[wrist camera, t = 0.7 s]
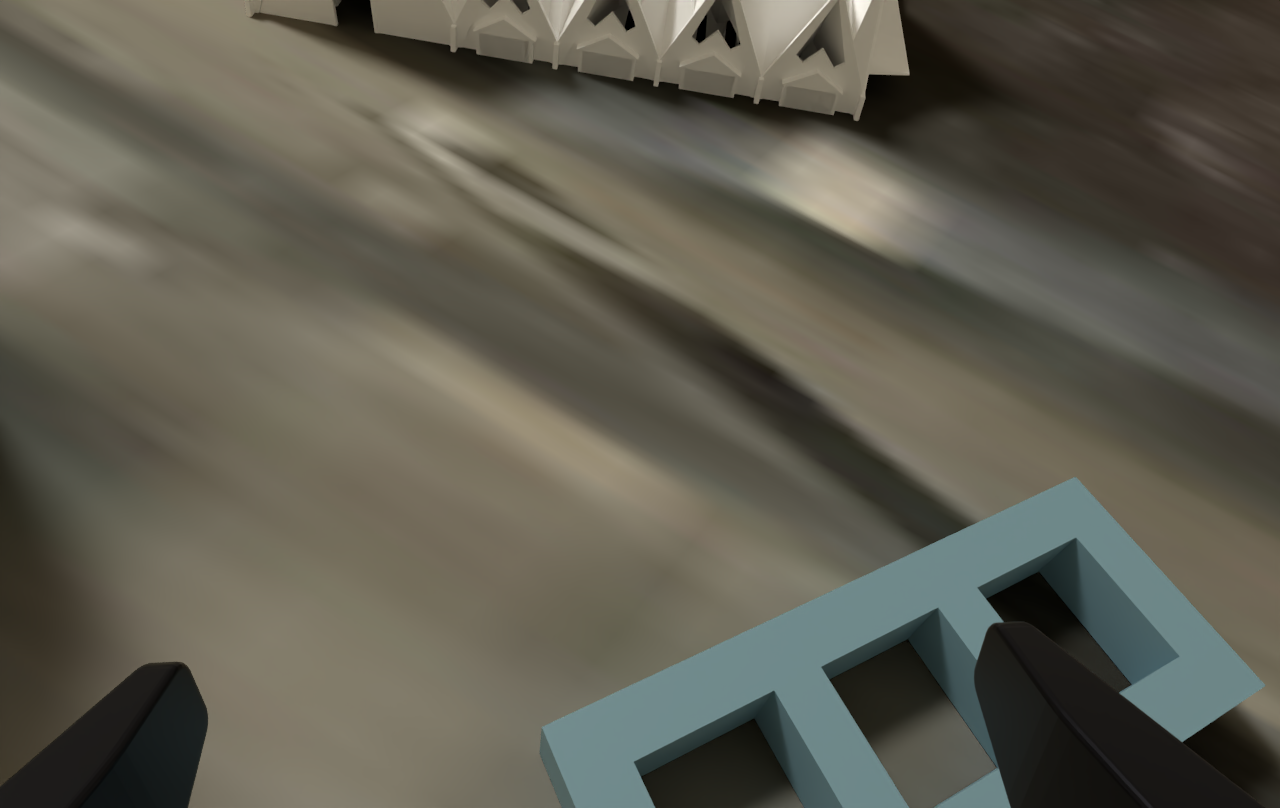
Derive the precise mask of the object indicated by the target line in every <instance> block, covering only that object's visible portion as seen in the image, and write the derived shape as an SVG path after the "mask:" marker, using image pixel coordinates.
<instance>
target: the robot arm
mask: <svg viewBox="0 0 1280 808" xmlns="http://www.w3.org/2000/svg"><path fill="white" fill-rule="evenodd" d="M974 686H975V691H976V694H977V698H978V701H979V704H980V708H981V711H982V714H983V718H984V721H985V724H986V728H987V731H988V734H989V738H990V741H991V744H992V748H993V751H994V754H995V758H996V761H997V764H998V768H999V771H1000V774H1001V778H1002V781H1003V784H1004V788H1005V791H1006V794H1007V798H1008V801H1009V804H1010V807H1011V808H1265V807H1264V806H1263V805H1262V804H1260V803H1259V802H1258V801H1257V800H1255V799H1254V798H1253V797H1251V796H1250V795H1249V794H1248V793H1246V792H1245V791H1244V790H1243V789H1241V788H1240V787H1239V786H1237V785H1236V784H1235V783H1234V782H1232V781H1231V780H1230V779H1228V778H1227V777H1226V776H1225V775H1223V774H1222V773H1221V772H1220V771H1218V770H1217V769H1216V768H1214V767H1213V766H1212V765H1211V764H1209V763H1208V762H1207V761H1205V760H1204V759H1203V758H1202V757H1200V756H1199V755H1198V754H1197V753H1195V752H1194V751H1193V750H1191V749H1190V748H1189V747H1188V746H1186V745H1185V744H1184V743H1183V742H1181V741H1180V740H1179V739H1177V738H1176V737H1175V736H1174V735H1172V734H1171V733H1170V732H1168V731H1167V730H1166V729H1165V728H1163V727H1162V726H1161V725H1160V724H1158V723H1157V722H1156V721H1154V720H1153V719H1152V718H1151V717H1149V716H1148V715H1147V714H1145V713H1144V712H1143V711H1142V710H1140V709H1139V708H1138V707H1137V706H1135V705H1134V704H1133V703H1131V702H1130V701H1129V700H1128V699H1126V698H1125V697H1124V696H1122V695H1121V694H1120V693H1119V692H1117V691H1116V690H1115V689H1114V688H1112V687H1111V686H1110V685H1108V684H1107V683H1106V682H1105V681H1103V680H1102V679H1101V678H1100V677H1098V676H1097V675H1096V674H1094V673H1093V672H1092V671H1091V670H1089V669H1088V668H1087V667H1085V666H1084V665H1083V664H1082V663H1080V662H1079V661H1078V660H1077V659H1075V658H1074V657H1073V656H1071V655H1070V654H1069V653H1068V652H1066V651H1065V650H1064V649H1062V648H1061V647H1060V646H1059V645H1057V644H1056V643H1055V642H1054V641H1052V640H1051V639H1050V638H1048V637H1047V636H1046V635H1045V634H1043V633H1042V632H1041V631H1040V630H1038V629H1037V628H1036V627H1034V626H1033V625H1031V624H1029V623H1027V622H1020V621H1019V622H998V623H993V624H992V625H991V626H990V627H989V628H988V629H987V632H986V634H985V637H984V641H983V644H982V647H981V650H980V653H979V656H978V659H977V662H976V665H975V669H974ZM207 727H208V713H207V708H206V705H205V703H204V701H203V699H202V696H201V694H200V692H199V689H198V687H197V685H196V683H195V680H194V678H193V676H192V673H191V671H190V669H189V668H188V666H187V665H185V664H184V663H182V662H162V663H149V664H146V665H143V666H141V667H140V668H138V669H137V670H135V671H134V672H133V673H132V674H131V675H130V676H128V677H127V678H126V679H125V680H124V681H123V682H121V683H120V684H119V685H118V686H117V687H116V688H114V689H113V690H112V691H111V692H110V693H109V694H107V695H106V696H105V697H104V698H103V699H102V700H100V701H99V702H98V703H97V704H96V705H95V706H93V707H92V708H91V709H90V710H89V711H88V712H87V713H85V714H84V715H83V716H82V717H81V718H80V719H78V720H77V721H76V722H75V723H74V724H73V725H71V726H70V727H69V728H68V729H67V730H66V731H64V732H63V733H62V734H61V735H60V736H59V737H57V738H56V739H55V740H54V741H53V742H52V743H50V744H49V745H48V746H47V747H46V748H45V749H43V750H42V751H41V752H40V753H39V754H38V755H37V756H35V757H34V758H33V759H32V760H31V761H30V762H28V763H27V764H26V765H25V766H24V767H23V768H21V769H20V770H19V771H18V772H17V773H16V774H14V775H13V776H12V777H11V778H10V779H9V780H7V781H6V782H5V783H4V784H3V785H2V786H0V808H188V805H189V801H190V797H191V793H192V789H193V785H194V781H195V777H196V773H197V769H198V765H199V761H200V757H201V753H202V749H203V745H204V741H205V736H206V732H207Z"/></svg>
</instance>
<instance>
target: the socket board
mask: <svg viewBox="0 0 1280 808" xmlns="http://www.w3.org/2000/svg"><path fill="white" fill-rule="evenodd" d="M1037 572H1040V574H1041V575H1042V576H1043V577H1044V578H1045V580H1046V581H1047V582H1048V583H1049V584H1050V586H1051V587H1052V588H1053V589H1054V591H1055V592H1056V593H1057V594H1058V595H1059V597H1060V598H1061V599H1062V600H1063V601H1064V603H1065V604H1066V605H1067V606H1068V608H1069V609H1070V610H1071V611H1072V612H1073V614H1074V615H1075V616H1076V617H1077V618H1078V620H1079V621H1080V622H1081V623H1082V625H1083V626H1084V627H1085V628H1086V629H1087V631H1088V632H1089V633H1090V634H1091V636H1092V637H1093V638H1094V639H1095V640H1096V642H1097V643H1098V644H1099V645H1100V646H1101V648H1102V649H1103V650H1104V651H1105V653H1106V654H1107V655H1108V656H1109V657H1110V659H1111V660H1112V661H1113V662H1114V663H1115V665H1116V666H1117V667H1118V668H1119V670H1120V671H1121V672H1122V673H1123V674H1124V676H1125V677H1126V678H1127V679H1128V681H1129V682H1130V683H1131V684H1132V685H1131V686H1129V687H1127V688H1126V689H1124V690H1123V691H1121V692H1119V693H1120V694H1121V695H1122V696H1124V697H1125V698H1126V699H1128V700H1129V701H1130V702H1131V703H1133V704H1134V705H1135V706H1137V707H1138V708H1139V709H1140V710H1142V711H1143V712H1144V713H1145V714H1147V715H1148V716H1149V717H1151V718H1152V719H1153V720H1154V721H1156V722H1157V723H1158V724H1160V725H1161V726H1162V727H1163V728H1165V729H1166V730H1167V731H1168V732H1170V733H1171V734H1172V735H1174V736H1175V737H1176V738H1177V739H1179V740H1180V741H1181V742H1183V741H1185V740H1186V739H1187V738H1189V737H1190V736H1192V735H1193V734H1195V733H1196V732H1198V731H1199V730H1201V729H1202V728H1204V727H1205V726H1207V725H1208V724H1210V723H1211V722H1213V721H1214V720H1216V719H1217V718H1219V717H1220V716H1221V715H1223V714H1224V713H1226V712H1227V711H1229V710H1230V709H1232V708H1233V707H1235V706H1236V705H1238V704H1239V703H1241V702H1242V701H1244V700H1245V699H1247V698H1248V697H1250V696H1251V695H1253V694H1254V693H1255V692H1257V691H1258V690H1260V689H1261V688H1263V687H1264V686H1266V685H1265V684H1264V683H1263V682H1262V681H1261V680H1260V679H1259V678H1258V677H1257V676H1256V674H1255V673H1254V672H1253V671H1252V670H1251V669H1250V668H1249V667H1248V666H1247V665H1246V664H1245V662H1244V661H1243V660H1242V659H1241V658H1240V657H1239V656H1238V655H1237V654H1236V653H1235V651H1234V650H1233V649H1232V648H1231V647H1230V646H1229V645H1228V644H1227V643H1226V642H1225V640H1224V639H1223V638H1222V637H1221V636H1220V635H1219V634H1218V633H1217V632H1216V631H1215V629H1214V628H1213V627H1212V626H1211V625H1210V624H1209V623H1208V622H1207V621H1206V620H1205V618H1204V617H1203V616H1202V615H1201V614H1200V613H1199V612H1198V611H1197V610H1196V609H1195V607H1194V606H1193V605H1192V604H1191V603H1190V602H1189V601H1188V600H1187V599H1186V598H1185V597H1184V595H1183V594H1182V593H1181V592H1180V591H1179V590H1178V589H1177V588H1176V587H1175V586H1174V584H1173V583H1172V582H1171V581H1170V580H1169V579H1168V578H1167V577H1166V576H1165V575H1164V573H1163V572H1162V571H1161V570H1160V569H1159V568H1158V567H1157V566H1156V565H1155V564H1154V562H1153V561H1152V560H1151V559H1150V558H1149V557H1148V556H1147V555H1146V554H1145V553H1144V551H1143V550H1142V549H1141V548H1140V547H1139V546H1138V545H1137V544H1136V543H1135V542H1134V540H1133V539H1132V538H1131V537H1130V536H1129V535H1128V534H1127V533H1126V532H1125V531H1124V530H1123V528H1122V527H1121V526H1120V525H1119V524H1118V523H1117V522H1116V521H1115V520H1114V519H1113V517H1112V516H1111V515H1110V514H1109V513H1108V512H1107V511H1106V510H1105V509H1104V508H1103V506H1102V505H1101V504H1100V503H1099V502H1098V501H1097V500H1096V499H1095V498H1094V497H1093V495H1092V494H1091V493H1090V492H1089V491H1088V490H1087V489H1086V488H1085V487H1084V486H1083V484H1082V483H1081V482H1080V481H1079V480H1078V479H1077V478H1076V477H1074V478H1072V479H1070V480H1067V481H1065V482H1063V483H1061V484H1059V485H1057V486H1055V487H1052V488H1050V489H1048V490H1046V491H1044V492H1042V493H1040V494H1038V495H1035V496H1033V497H1031V498H1029V499H1027V500H1025V501H1023V502H1021V503H1018V504H1016V505H1014V506H1012V507H1010V508H1008V509H1006V510H1003V511H1001V512H999V513H997V514H995V515H993V516H991V517H989V518H986V519H984V520H982V521H980V522H978V523H976V524H974V525H972V526H969V527H967V528H965V529H963V530H961V531H959V532H957V533H954V534H952V535H950V536H948V537H946V538H944V539H942V540H940V541H937V542H935V543H933V544H931V545H929V546H927V547H925V548H922V549H920V550H918V551H916V552H914V553H912V554H910V555H908V556H905V557H903V558H901V559H899V560H897V561H895V562H893V563H891V564H888V565H886V566H884V567H882V568H880V569H878V570H876V571H873V572H871V573H869V574H867V575H865V576H863V577H861V578H859V579H856V580H854V581H852V582H850V583H848V584H846V585H844V586H842V587H839V588H837V589H835V590H833V591H831V592H829V593H827V594H824V595H822V596H820V597H818V598H816V599H814V600H812V601H810V602H807V603H805V604H803V605H801V606H799V607H797V608H795V609H792V610H790V611H788V612H786V613H784V614H782V615H780V616H778V617H775V618H773V619H771V620H769V621H767V622H765V623H763V624H761V625H758V626H756V627H754V628H752V629H750V630H748V631H746V632H743V633H741V634H739V635H737V636H735V637H733V638H731V639H729V640H726V641H724V642H722V643H720V644H718V645H716V646H714V647H711V648H709V649H707V650H705V651H703V652H701V653H699V654H697V655H694V656H692V657H690V658H688V659H686V660H684V661H682V662H680V663H677V664H675V665H673V666H671V667H669V668H667V669H665V670H662V671H660V672H658V673H656V674H654V675H652V676H650V677H648V678H645V679H643V680H641V681H639V682H637V683H635V684H633V685H631V686H628V687H626V688H624V689H622V690H620V691H618V692H616V693H613V694H611V695H609V696H607V697H605V698H603V699H601V700H599V701H596V702H594V703H592V704H590V705H588V706H586V707H584V708H581V709H579V710H577V711H575V712H573V713H571V714H569V715H567V716H564V717H562V718H560V719H558V720H556V721H554V722H552V723H550V724H547V725H545V726H543V727H542V731H541V744H540V755H541V758H542V760H543V763H544V765H545V768H546V770H547V772H548V775H549V777H550V780H551V782H552V785H553V787H554V789H555V792H556V794H557V797H558V799H559V802H560V804H561V806H562V808H655V806H654V804H653V802H652V800H651V798H650V796H649V793H648V791H647V789H646V787H645V785H644V783H643V781H642V779H641V776H643V775H645V774H647V773H649V772H651V771H653V770H655V769H657V768H659V767H661V766H663V765H665V764H667V763H669V762H670V761H672V760H674V759H676V758H678V757H680V756H682V755H684V754H686V753H688V752H690V751H692V750H694V749H696V748H698V747H700V746H702V745H703V744H705V743H707V742H709V741H711V740H713V739H715V738H717V737H719V736H721V735H723V734H725V733H727V732H729V731H731V730H733V729H734V728H736V727H738V726H740V725H742V724H744V723H746V722H748V721H750V720H752V719H755V721H756V722H757V724H758V726H759V728H760V729H761V731H762V733H763V735H764V737H765V738H766V740H767V742H768V744H769V746H770V747H771V749H772V751H773V753H774V754H775V756H776V758H777V760H778V762H779V763H780V765H781V767H782V769H783V771H784V772H785V774H786V776H787V778H788V779H789V781H790V783H791V785H792V787H793V788H794V790H795V792H796V794H797V796H798V797H799V799H800V801H801V803H802V804H803V806H804V808H909V807H908V805H907V804H906V802H905V801H904V799H903V797H902V796H901V794H900V793H899V791H898V789H897V788H896V786H895V785H894V783H893V781H892V780H891V778H890V777H889V775H888V773H887V772H886V770H885V769H884V767H883V765H882V764H881V762H880V761H879V759H878V757H877V756H876V754H875V753H874V751H873V749H872V748H871V746H870V745H869V743H868V741H867V740H866V738H865V737H864V735H863V733H862V732H861V730H860V729H859V727H858V725H857V724H856V722H855V721H854V719H853V717H852V716H851V714H850V713H849V711H848V709H847V708H846V706H845V705H844V703H843V701H842V700H841V698H840V696H839V695H838V693H837V692H836V690H835V688H834V687H833V685H832V684H831V682H830V680H829V679H831V678H833V677H835V676H837V675H839V674H841V673H843V672H845V671H847V670H849V669H851V668H853V667H855V666H857V665H859V664H860V663H862V662H864V661H866V660H868V659H870V658H872V657H874V656H876V655H878V654H880V653H882V652H884V651H886V650H888V649H890V648H891V647H893V646H895V645H897V644H899V643H901V642H903V641H905V640H907V639H908V640H909V642H910V643H911V644H912V646H913V647H914V649H915V650H916V652H917V653H918V655H919V656H920V657H921V659H922V660H923V662H924V663H925V665H926V666H927V668H928V669H929V670H930V672H931V673H932V675H933V676H934V678H935V679H936V680H937V682H938V683H939V685H940V686H941V688H942V689H943V691H944V692H945V693H946V695H947V696H948V698H949V699H950V701H951V702H952V703H953V705H954V706H955V708H956V709H957V711H958V712H959V714H960V715H961V716H962V718H963V719H964V721H965V722H966V724H967V725H968V727H969V728H970V729H971V731H972V732H973V734H974V735H975V737H976V738H977V739H978V741H979V742H980V744H981V745H982V747H983V748H984V750H985V751H986V752H987V754H988V755H989V757H990V758H991V760H992V761H993V762H994V764H995V765H996V767H997V768H996V769H995V770H993V771H992V772H990V773H988V774H987V775H985V776H983V777H982V778H980V779H979V780H977V781H975V782H974V783H972V784H971V785H969V786H967V787H966V788H964V789H962V790H961V791H959V792H958V793H956V794H954V795H953V796H951V797H950V798H948V799H946V800H945V801H943V802H941V803H940V804H938V805H937V806H935V807H933V808H1011V807H1010V804H1009V801H1008V798H1007V794H1006V791H1005V788H1004V784H1003V781H1002V778H1001V774H1000V771H999V768H998V764H997V761H996V758H995V754H994V751H993V748H992V744H991V741H990V738H989V734H988V731H987V728H986V724H985V721H984V718H983V714H982V711H981V708H980V704H979V701H978V698H977V694H976V691H975V686H974V669H975V665H976V662H977V659H978V656H979V653H980V650H981V647H982V644H983V641H984V637H985V634H986V632H987V629H988V628H989V627H990V626H991V625H992V624H993V623H998V622H1003V621H1002V619H1001V618H1000V617H999V615H998V614H997V613H996V611H995V610H994V609H993V608H992V606H991V605H990V604H989V602H988V601H987V600H986V598H988V597H990V596H992V595H994V594H996V593H998V592H1000V591H1002V590H1004V589H1006V588H1008V587H1010V586H1012V585H1014V584H1016V583H1017V582H1019V581H1021V580H1023V579H1025V578H1027V577H1029V576H1031V575H1033V574H1035V573H1037Z"/></svg>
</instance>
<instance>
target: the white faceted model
mask: <svg viewBox="0 0 1280 808" xmlns="http://www.w3.org/2000/svg"><path fill="white" fill-rule="evenodd" d="M341 1H342V0H244V4H245V11H246V16H247V17H252V16H253V14H254V13H259V12H260V13H265V14H271V15H277V16H283V17H289V18H294V19H300V20H306V21H312V22H318V23H324V24H329V25H333V26H337V25H338V19H337V14H336V8H335V6H338V5H339V3H340V2H341ZM370 3H371V10H372V17H373V25H374V32H375V33H382V34H388V35H394V36H400V37H405V38H411V39H417V40H423V41H429V42H435V43H440V44H446V45H449V46H451V52H456V50H457V48H458V47H460V48H462V47H464V48H470V49H476V53H477V54H478V55H484V56H490V57H496V58H501V59H507V60H513V61H519V62H525V63H531V64H532V63H533V60H540V61H546V62H550V63H553V64H552V69H556V70H557V68H558V65H562V64H563V65H569V66H575V67H578V72H583V73H589V74H595V75H601V76H607V77H613V78H618V79H624V80H630V81H633V79H634V77H639V78H645V79H651V80H653V81H654V84H653V86H656V87H658V84H659V82H668V83H674V84H679V89H683V90H689V91H695V92H700V93H706V94H712V95H718V96H724V97H730V98H734V94H739V95H744V96H750V97H752V98H754V103H755V104H759V100H760V99H768V100H774V101H779V106H782V107H788V108H794V109H800V110H806V111H812V112H817V113H823V114H829V115H834V112H835V111H838V112H844V113H850V114H852V115H853V119H854V120H855V121H859V118H860V114H861V111H862V108H863V105H864V102H865V98H866V97H865V90H866V86H867V81H868V76H869V74H876V75H909V74H910V73H909V67H908V61H907V55H906V48H905V42H904V36H903V30H902V24H901V18H900V12H899V5H898V0H370ZM528 6H529V7H530V9H529V10H528ZM629 10H630V12H631V14H632V17H633V19H634V23H635V27H634V28H632V29H630V30H628V31H626V29H625V24H626V20H627V16H628V12H629ZM706 14H707V23H706V37H705V40H703V41H702V42H701V43H698V42H697V41H696V40H695V39H696V36H697V29H698V26H699V25H700V23H701V22H702V20H703V19H704V17H705V15H706ZM729 20H730V21H731V23H732V25H733V28H734V30H735V32H736V42H735V47H733V48H731V49H730V47H729V46H728V44H727V43H726V41H725V34H726V24H727V21H729ZM693 34H694V35H693ZM739 41H740V45H739ZM799 56H800V58H799Z"/></svg>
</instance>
